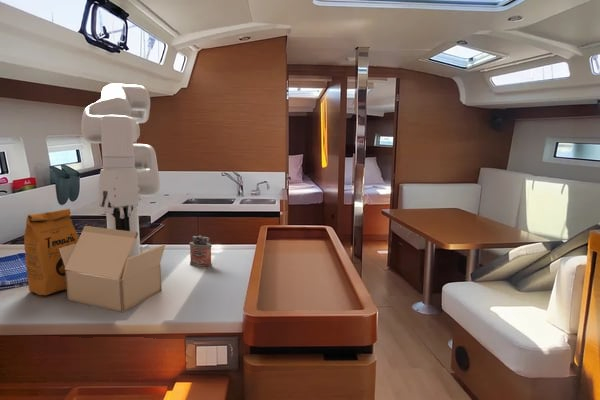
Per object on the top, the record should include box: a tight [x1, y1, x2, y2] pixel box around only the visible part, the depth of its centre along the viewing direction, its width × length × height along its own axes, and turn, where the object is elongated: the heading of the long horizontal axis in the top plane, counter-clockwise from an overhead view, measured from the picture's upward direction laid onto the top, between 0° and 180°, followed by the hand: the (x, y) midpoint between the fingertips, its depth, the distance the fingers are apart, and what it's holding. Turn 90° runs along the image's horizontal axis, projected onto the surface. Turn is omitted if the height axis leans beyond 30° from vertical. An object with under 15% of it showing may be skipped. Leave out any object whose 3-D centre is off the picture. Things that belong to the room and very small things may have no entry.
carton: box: [59, 243, 166, 313], centre depth 100 cm, size 14×22×14 cm, turn 71°
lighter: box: [188, 235, 213, 268], centre depth 126 cm, size 8×3×10 cm, turn 68°
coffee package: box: [23, 208, 79, 296], centre depth 104 cm, size 10×12×22 cm
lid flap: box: [65, 225, 138, 280], centre depth 96 cm, size 12×17×1 cm
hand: (123, 231), depth 102 cm, fingers closed
